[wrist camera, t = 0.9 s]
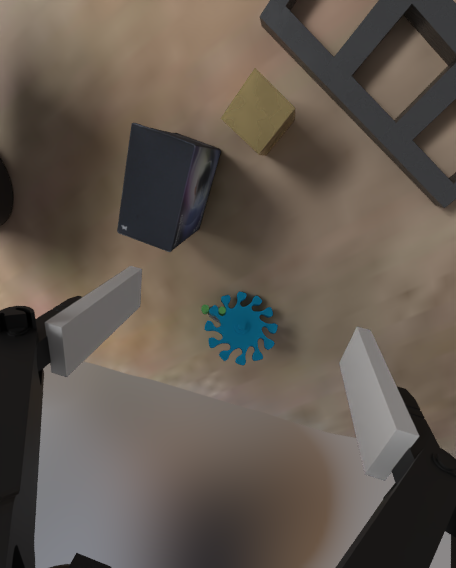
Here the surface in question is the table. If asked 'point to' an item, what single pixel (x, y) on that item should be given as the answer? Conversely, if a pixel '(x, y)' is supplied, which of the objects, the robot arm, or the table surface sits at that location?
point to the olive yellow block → (259, 113)
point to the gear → (239, 327)
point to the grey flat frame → (357, 102)
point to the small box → (165, 186)
